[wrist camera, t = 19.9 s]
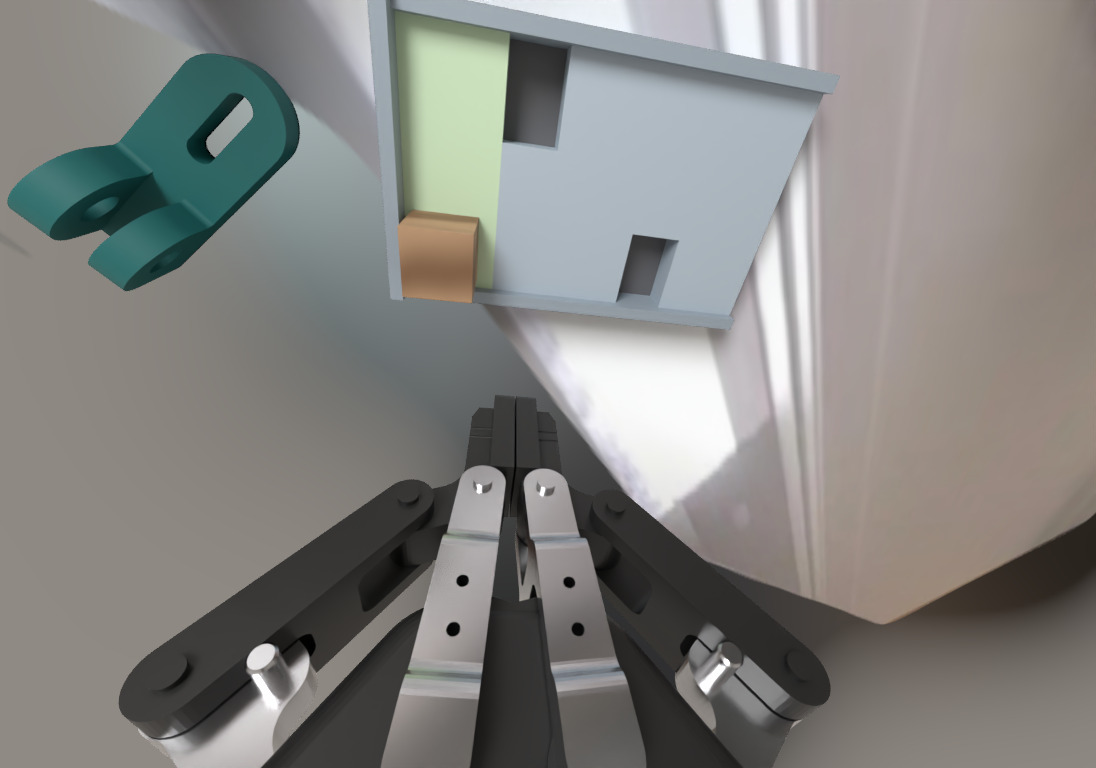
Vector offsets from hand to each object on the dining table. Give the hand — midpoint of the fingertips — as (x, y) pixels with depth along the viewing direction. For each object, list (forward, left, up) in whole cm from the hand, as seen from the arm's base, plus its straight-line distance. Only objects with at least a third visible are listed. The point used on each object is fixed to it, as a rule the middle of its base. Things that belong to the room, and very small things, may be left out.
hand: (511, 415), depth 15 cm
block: (+1, -5, -22) cm, 23 cm away
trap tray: (-4, +6, -25) cm, 26 cm away
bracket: (-2, -24, -25) cm, 35 cm away
